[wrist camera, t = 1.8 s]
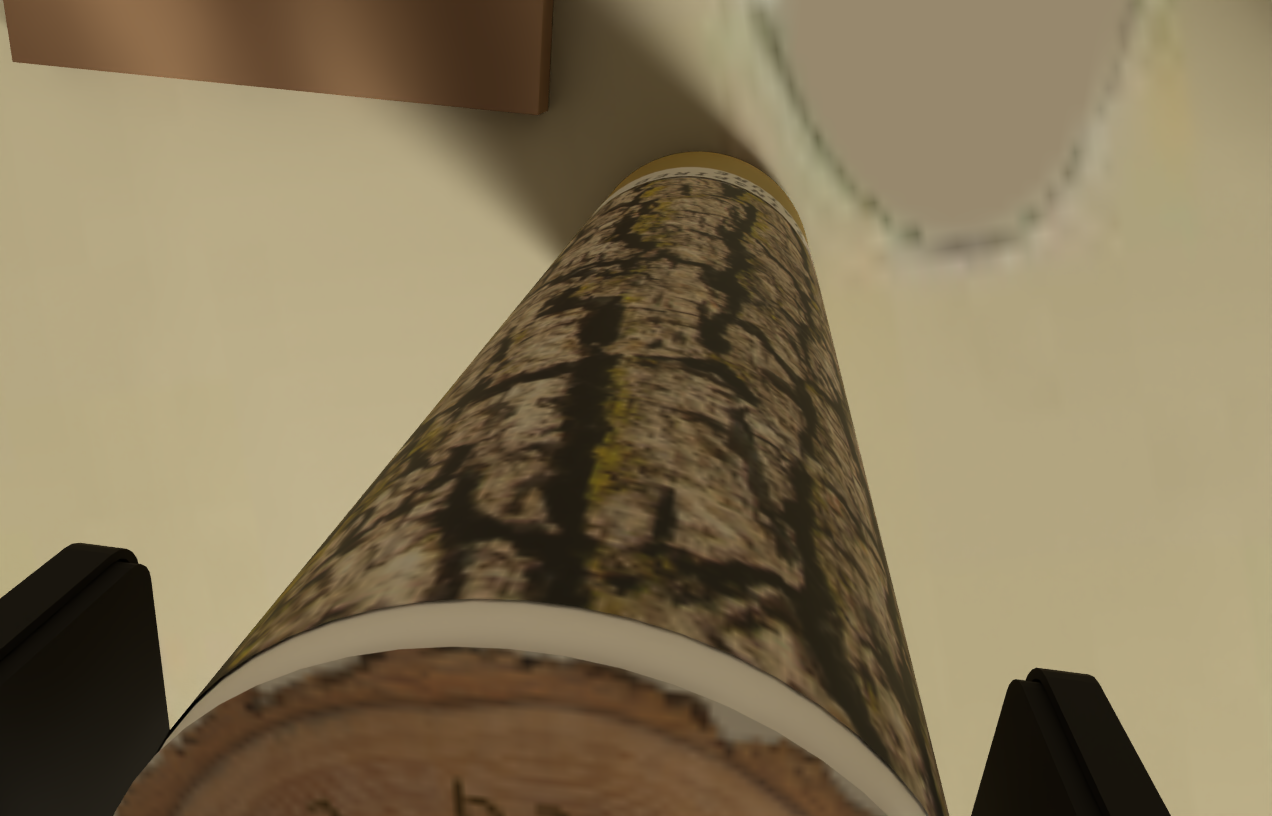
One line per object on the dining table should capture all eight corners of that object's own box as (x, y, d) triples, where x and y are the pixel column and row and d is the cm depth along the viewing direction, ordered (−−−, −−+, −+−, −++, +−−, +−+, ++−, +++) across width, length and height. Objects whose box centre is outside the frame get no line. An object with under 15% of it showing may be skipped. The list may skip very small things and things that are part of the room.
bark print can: (591, 143, 29) (-4, 601, 6) (817, 150, 29) (1080, 692, 6) (591, 355, 32) (169, 1231, 9) (798, 366, 31) (927, 1345, 8)
